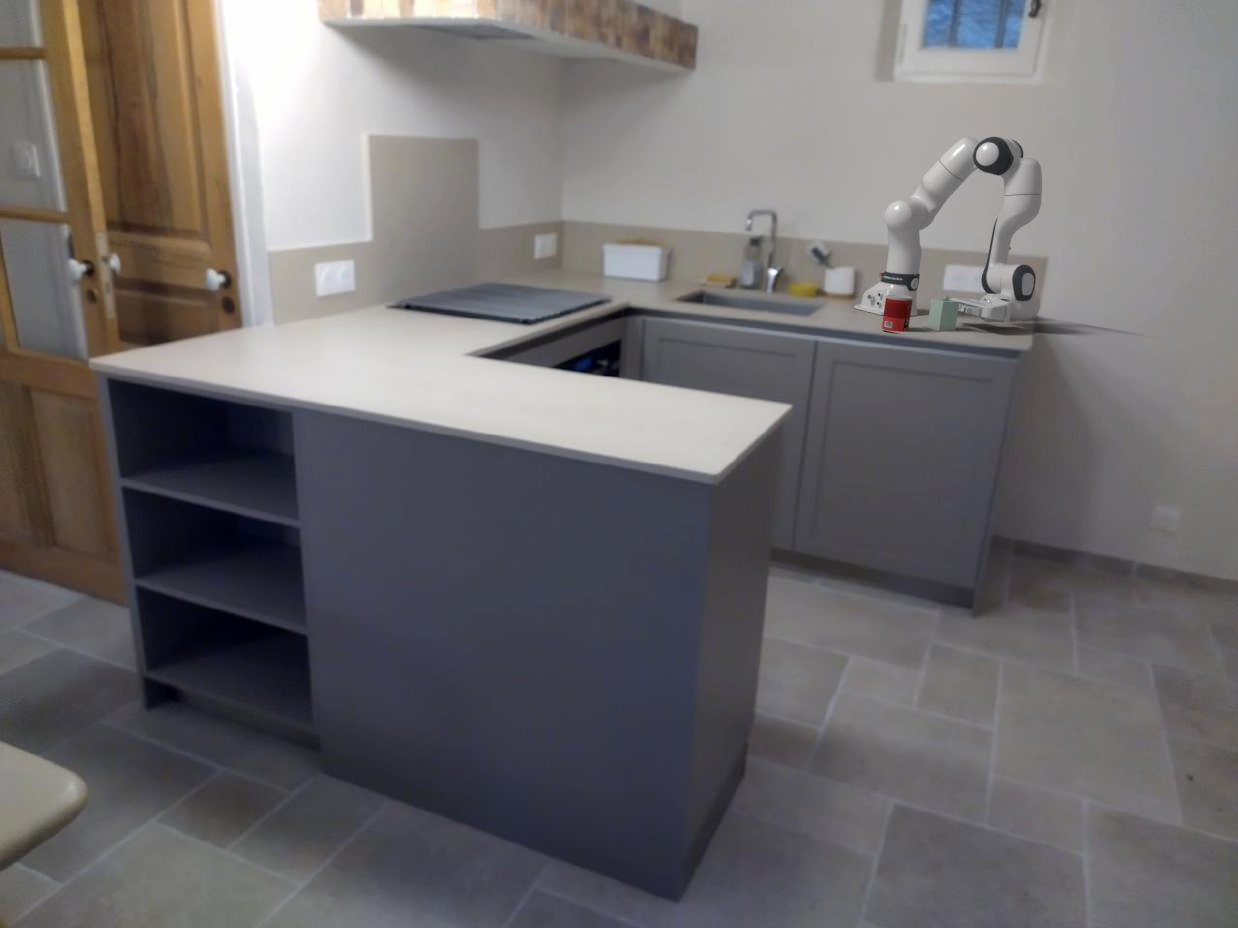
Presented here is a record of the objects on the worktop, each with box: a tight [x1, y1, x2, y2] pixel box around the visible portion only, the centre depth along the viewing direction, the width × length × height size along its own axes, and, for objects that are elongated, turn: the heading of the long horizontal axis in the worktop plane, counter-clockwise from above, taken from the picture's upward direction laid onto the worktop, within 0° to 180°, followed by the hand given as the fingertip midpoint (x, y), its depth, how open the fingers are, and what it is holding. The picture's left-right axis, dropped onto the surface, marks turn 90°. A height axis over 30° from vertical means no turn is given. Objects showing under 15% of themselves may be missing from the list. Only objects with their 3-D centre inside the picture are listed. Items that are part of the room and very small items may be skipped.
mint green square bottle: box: [926, 295, 960, 331], centre depth 286 cm, size 6×6×10 cm
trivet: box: [922, 325, 963, 333], centre depth 287 cm, size 9×9×1 cm
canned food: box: [881, 295, 913, 335], centre depth 282 cm, size 8×8×11 cm
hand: (955, 308), depth 286 cm, fingers open, 8 cm apart
